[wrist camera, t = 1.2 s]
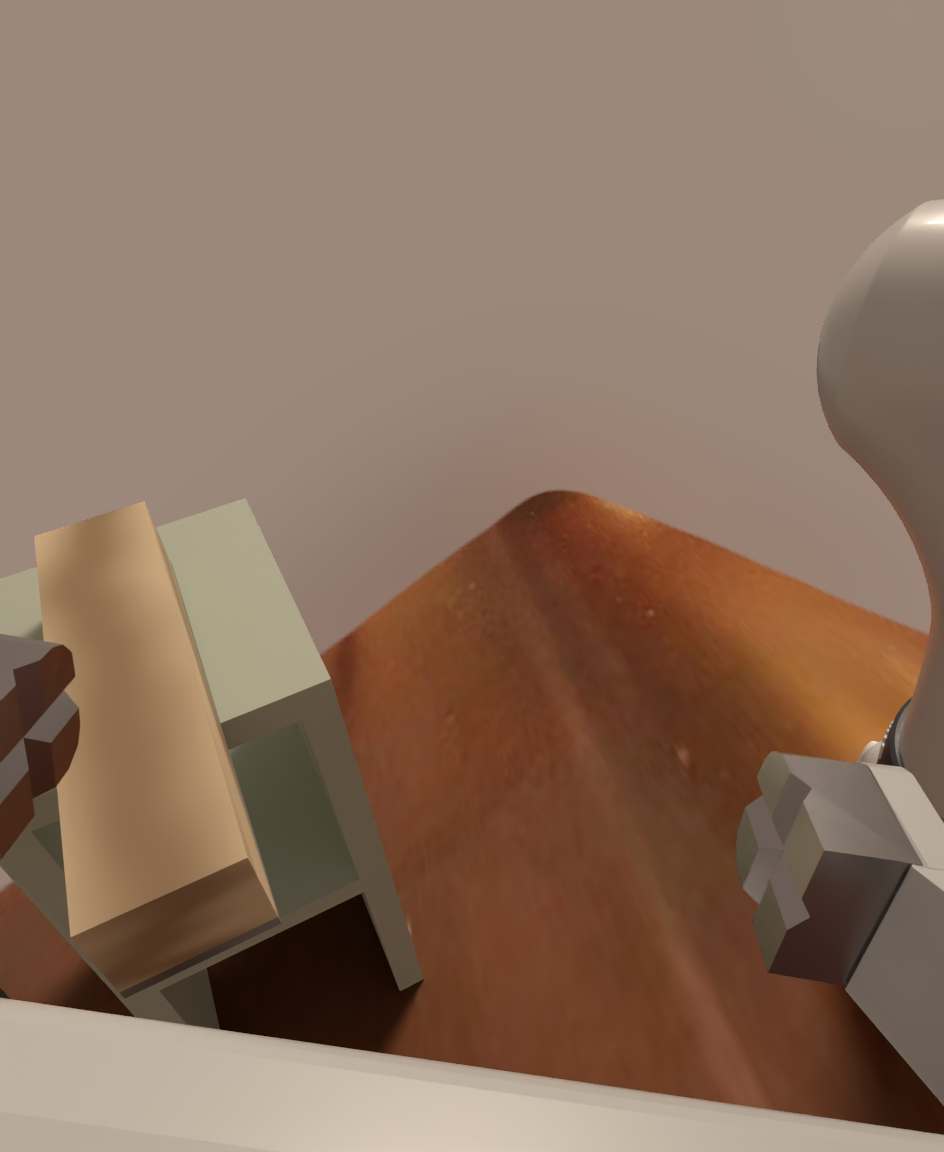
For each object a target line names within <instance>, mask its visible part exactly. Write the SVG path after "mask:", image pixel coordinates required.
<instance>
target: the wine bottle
mask: <svg viewBox="0 0 944 1152" xmlns="http://www.w3.org/2000/svg"><path fill="white" fill-rule="evenodd" d="M0 998H5V999H9V998H8V996H7V995H6V994H5V992H4V991H3V990H2V989H0Z"/></svg>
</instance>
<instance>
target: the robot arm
mask: <svg viewBox="0 0 944 1152" xmlns="http://www.w3.org/2000/svg"><path fill="white" fill-rule="evenodd" d="M817 383H818V391H819V396H820V401H821V405H822V409H823V413H824V415H825V418H826V421H827V423H828V426H829V428H830V430H831V432H832V434H833V436H834V438H835V440H836V442H837V443H838V444H839V446H840V447H841V448H842V449H844V450H845V451H846V452H847V453H848V454H849V455H850V456H851V457H852V458H853V459H854V460H855V461H856V462H857V463H858V464H859V465H860V466H861V467H862V468H863V469H864V470H865V471H866V473H867V474H868V475H869V476H870V477H871V478H872V479H873V480H874V482H875V483H876V484H877V485H878V486H879V488H880V489H881V490H882V492H883V493H884V495H885V496H886V497H887V499H888V500H889V501H890V503H891V504H892V506H893V507H894V509H895V511H896V512H897V514H898V515H899V517H900V519H901V520H902V522H903V524H904V526H905V528H906V530H907V532H908V534H909V536H910V538H911V540H912V542H913V544H914V546H915V549H916V551H917V554H918V556H919V559H920V561H921V564H922V567H923V571H924V574H925V577H926V581H927V584H928V589H929V594H930V601H931V627H930V633H929V638H928V642H927V647H926V651H925V655H924V659H923V663H922V667H921V670H920V674H919V678H918V681H917V684H916V687H915V690H914V693H913V697H912V698H910V699H909V700H908V701H907V702H906V703H905V704H904V705H903V706H902V708H901V709H900V711H899V712H898V713H897V715H896V717H895V719H894V721H892V723H891V725H890V726H889V728H888V729H887V731H886V734H885V736H884V738H883V740H882V741H880V742H875V741H872V742H870V743H869V744H867V745H866V746H865V748H864V749H863V751H862V753H861V755H860V757H859V758H858V760H857V762H856V763H854V762H847V761H840V760H832V759H825V758H818V757H811V756H804V755H797V754H790V753H783V752H776V751H771V753H770V754H769V755H768V756H767V757H766V759H765V760H764V761H763V764H762V766H761V769H760V771H759V774H758V776H757V779H758V782H759V785H760V788H761V791H762V793H763V795H762V796H761V797H759V798H758V799H757V800H755V801H754V802H752V803H751V804H749V805H748V806H746V807H745V810H744V813H743V816H742V819H741V822H740V825H739V828H738V835H737V845H736V859H737V868H738V873H739V877H740V880H741V884H742V888H743V889H744V890H745V891H746V892H747V893H748V894H749V895H750V896H751V897H752V898H753V899H754V900H755V901H756V902H757V903H758V904H759V906H758V908H757V911H756V913H755V916H754V918H753V920H752V922H753V925H754V928H755V932H756V935H757V938H758V942H759V945H760V948H761V951H762V955H763V958H764V961H765V965H766V968H767V971H768V973H772V974H778V975H783V976H789V977H795V978H801V979H806V980H812V981H818V982H824V983H829V984H835V985H841V986H846V989H845V991H846V992H847V993H848V994H849V995H850V996H851V998H852V999H853V1000H854V1001H855V1002H856V1004H857V1005H858V1006H859V1007H860V1008H861V1009H862V1011H863V1012H864V1013H865V1014H866V1015H867V1016H868V1018H869V1019H870V1020H871V1021H872V1022H873V1023H874V1025H875V1026H876V1027H877V1028H878V1029H879V1031H880V1032H881V1033H882V1034H883V1035H884V1036H885V1038H886V1039H887V1040H888V1041H889V1042H890V1043H891V1045H892V1046H893V1047H894V1048H895V1049H896V1050H897V1052H898V1053H899V1054H900V1055H901V1056H902V1058H903V1059H904V1060H905V1061H906V1062H907V1063H908V1065H909V1066H910V1067H911V1068H912V1069H913V1070H914V1072H915V1073H916V1074H917V1075H918V1076H919V1077H920V1079H921V1080H922V1081H923V1082H924V1083H925V1085H926V1086H927V1087H928V1088H929V1089H930V1090H931V1092H932V1093H933V1094H934V1095H935V1096H936V1097H937V1099H938V1100H939V1101H940V1102H941V1103H942V1104H943V1106H944V199H943V200H933V201H928V202H925V203H923V204H921V205H920V206H918V207H916V208H915V209H913V210H912V211H910V212H909V213H908V214H906V215H905V216H903V217H902V218H900V219H899V220H898V221H897V222H895V223H894V224H893V225H892V226H890V227H889V228H888V229H887V230H885V231H884V232H883V233H882V234H881V235H880V236H879V237H878V238H877V239H876V240H875V241H874V242H873V243H872V244H871V245H870V246H869V247H868V248H867V249H866V250H865V251H864V253H863V254H862V255H861V257H860V258H859V259H858V260H857V261H856V263H855V264H854V265H853V267H852V268H851V269H850V271H849V272H848V274H847V275H846V277H845V279H844V280H843V282H842V283H841V285H840V287H839V289H838V290H837V292H836V294H835V296H834V298H833V300H832V303H831V305H830V307H829V310H828V312H827V315H826V318H825V321H824V325H823V328H822V331H821V336H820V342H819V346H818V356H817ZM74 678H75V669H74V662H73V656H72V652H71V651H70V650H69V649H68V648H67V647H66V646H64V645H63V644H58V643H52V642H46V641H40V640H34V639H29V638H23V637H17V636H11V635H5V634H0V860H1V859H2V858H3V857H4V855H5V854H6V853H7V852H8V850H9V849H10V848H11V846H12V845H13V844H14V842H15V841H16V840H17V838H18V837H19V836H20V834H21V833H22V832H23V830H24V829H25V828H26V826H27V825H28V824H29V822H30V821H31V820H32V819H33V817H34V816H35V813H34V805H33V798H35V797H37V796H39V795H41V794H43V793H45V792H47V791H49V790H51V789H53V788H55V787H57V785H58V784H59V782H60V781H61V779H62V778H63V777H64V775H65V774H66V772H67V771H68V770H69V768H70V765H71V762H72V760H73V757H74V755H75V752H76V749H77V747H78V742H79V733H80V715H79V708H78V706H77V705H76V704H75V703H74V702H73V700H72V699H71V698H70V697H69V696H68V694H67V693H66V692H65V691H64V689H65V688H66V687H67V686H68V685H69V684H70V682H71V681H72V680H73V679H74ZM0 1152H944V1135H941V1134H934V1133H927V1132H920V1131H914V1130H907V1129H900V1128H893V1127H886V1126H879V1125H872V1124H865V1123H859V1122H852V1121H845V1120H838V1119H831V1118H824V1117H817V1116H810V1115H804V1114H797V1113H790V1112H783V1111H776V1110H769V1109H762V1108H755V1107H749V1106H742V1105H735V1104H728V1103H721V1102H714V1101H707V1100H700V1099H694V1098H687V1097H680V1096H673V1095H666V1094H659V1093H652V1092H645V1091H639V1090H632V1089H625V1088H618V1087H611V1086H604V1085H597V1084H590V1083H584V1082H577V1081H570V1080H563V1079H556V1078H549V1077H542V1076H535V1075H529V1074H522V1073H515V1072H508V1071H501V1070H494V1069H487V1068H480V1067H474V1066H467V1065H460V1064H453V1063H446V1062H439V1061H432V1060H425V1059H418V1058H412V1057H405V1056H398V1055H391V1054H384V1053H377V1052H370V1051H363V1050H356V1049H350V1048H343V1047H336V1046H329V1045H322V1044H315V1043H308V1042H301V1041H294V1040H288V1039H281V1038H274V1037H267V1036H260V1035H253V1034H246V1033H239V1032H232V1031H226V1030H219V1029H212V1028H205V1027H198V1026H191V1025H184V1024H177V1023H170V1022H164V1021H157V1020H150V1019H143V1018H136V1017H129V1016H122V1015H115V1014H108V1013H102V1012H95V1011H88V1010H81V1009H74V1008H67V1007H60V1006H53V1005H46V1004H40V1003H33V1002H26V1001H19V1000H12V999H5V998H0Z"/></svg>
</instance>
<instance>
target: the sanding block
mask: <svg viewBox="0 0 944 1152" xmlns="http://www.w3.org/2000/svg"><path fill="white" fill-rule="evenodd" d="M34 538H35V549H36V560H37V571H38V582H39V593H40V604H41V615H42V626H43V638H44V641H46V642H52V643H58V644H63V645H64V646H66V647H67V648H68V649H69V650H70V651H71V652H72V656H73V662H74V669H75V678H74V679H73V680H72V681H71V682H70V684H69V685H68V686H67V687H66V688H65V689H64V691H65V692H66V693H67V694H68V696H69V697H70V698H71V699H72V700H73V702H74V703H75V704H76V705H77V706H78V708H79V715H80V733H79V742H78V747H77V749H76V752H75V755H74V757H73V760H72V762H71V765H70V768H69V770H68V771H67V772H66V774H65V775H64V777H63V778H62V779H61V781H60V782H59V784H58V785H57V793H58V804H59V815H60V827H61V838H62V849H63V860H64V871H65V882H66V893H67V904H68V916H69V927H70V937H71V939H72V940H73V941H74V942H75V943H76V944H77V945H78V947H79V948H80V949H81V950H82V951H83V952H84V953H85V954H86V956H87V957H88V958H89V959H90V960H91V961H92V962H93V964H94V965H95V966H96V967H97V968H98V969H99V970H100V971H101V973H102V974H103V975H104V976H105V977H106V978H107V979H108V981H109V982H110V983H111V984H112V985H113V986H114V987H115V988H116V990H117V991H118V992H119V993H120V994H121V995H122V996H123V998H124V999H125V998H127V997H129V996H132V995H134V994H136V993H138V992H140V991H142V990H144V989H146V988H148V987H150V986H152V985H155V984H157V983H159V982H161V981H163V980H165V979H167V978H169V977H171V976H173V975H175V974H177V973H180V972H182V971H184V970H186V969H188V968H190V967H192V966H194V965H196V964H198V963H200V962H203V961H205V960H207V959H209V958H211V957H213V956H215V955H217V954H219V953H221V952H223V951H226V950H228V949H230V948H232V947H234V946H236V945H238V944H240V943H242V942H244V941H246V940H248V939H251V938H253V937H255V936H257V935H259V934H261V933H263V932H265V931H267V930H269V929H271V928H274V927H276V926H278V925H280V924H282V923H281V920H280V917H279V913H278V910H277V907H276V903H275V900H274V897H273V894H272V890H271V887H270V884H269V881H268V877H267V874H266V871H265V867H264V864H263V861H262V858H261V854H260V851H259V848H258V844H257V841H256V838H255V835H254V831H253V828H252V825H251V822H250V818H249V815H248V812H247V808H246V805H245V802H244V799H243V795H242V792H241V789H240V785H239V782H238V779H237V776H236V772H235V769H234V766H233V763H232V759H231V756H230V753H229V749H228V746H227V743H226V740H225V736H224V733H223V730H222V727H221V723H220V720H219V717H218V713H217V710H216V707H215V704H214V700H213V697H212V694H211V690H210V687H209V684H208V681H207V677H206V674H205V671H204V668H203V664H202V661H201V658H200V654H199V651H198V648H197V645H196V641H195V638H194V635H193V631H192V628H191V625H190V622H189V618H188V615H187V612H186V609H185V605H184V602H183V599H182V595H181V592H180V589H179V586H178V582H177V579H176V576H175V573H174V569H173V566H172V564H171V561H170V559H169V557H168V554H167V552H166V550H165V548H164V545H163V543H162V541H161V538H160V536H159V534H158V532H157V529H156V527H155V525H154V522H153V520H152V518H151V516H150V513H149V511H148V509H147V506H146V504H145V502H144V501H143V502H140V503H137V504H134V505H131V506H128V507H125V508H121V509H118V510H115V511H112V512H109V513H106V514H102V515H99V516H96V517H93V518H90V519H87V520H84V521H81V522H77V523H74V524H71V525H68V526H65V527H62V528H59V529H56V530H52V531H49V532H46V533H43V534H40V535H37V536H35V537H34Z"/></svg>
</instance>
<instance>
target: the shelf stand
mask: <svg viewBox="0 0 944 1152" xmlns="http://www.w3.org/2000/svg"><path fill="white" fill-rule="evenodd" d="M156 529H157V532H158V534H159V536H160V538H161V541H162V543H163V545H164V548H165V550H166V552H167V554H168V557H169V559H170V561H171V564H172V566H173V569H174V573H175V576H176V579H177V582H178V586H179V589H180V592H181V595H182V599H183V602H184V605H185V609H186V612H187V615H188V618H189V622H190V625H191V628H192V631H193V635H194V638H195V641H196V645H197V648H198V651H199V654H200V658H201V661H202V664H203V668H204V671H205V674H206V677H207V681H208V684H209V687H210V690H211V694H212V697H213V700H214V704H215V707H216V710H217V713H218V717H219V720H220V723H221V727H222V730H223V733H224V736H225V740H226V743H227V746H228V749H229V753H230V756H231V759H232V763H233V766H234V769H235V772H236V776H237V779H238V782H239V785H240V789H241V792H242V795H243V799H244V802H245V805H246V808H247V812H248V815H249V818H250V822H251V825H252V828H253V831H254V835H255V838H256V841H257V844H258V848H259V851H260V854H261V858H262V861H263V864H264V867H265V871H266V874H267V877H268V881H269V884H270V887H271V890H272V894H273V897H274V900H275V903H276V907H277V910H278V913H279V917H280V920H281V923H282V924H280V925H278V926H276V927H274V928H271V929H269V930H267V931H265V932H263V933H261V934H259V935H257V936H255V937H253V938H251V939H248V940H246V941H244V942H242V943H240V944H238V945H236V946H234V947H232V948H230V949H228V950H226V951H223V952H221V953H219V954H217V955H215V956H213V957H211V958H209V959H207V960H205V961H203V962H200V963H198V964H196V965H194V966H192V967H190V968H188V969H186V970H184V971H182V972H180V973H177V974H175V975H173V976H171V977H169V978H167V979H165V980H163V981H161V982H159V983H157V984H155V985H152V986H150V987H148V988H146V989H144V990H142V991H140V992H138V993H136V994H134V995H132V996H129V997H127V998H125V999H124V998H123V996H122V995H121V994H120V993H119V992H118V991H117V990H116V988H115V987H114V986H113V985H112V984H111V983H110V982H109V981H108V979H107V978H106V977H105V976H104V975H103V974H102V973H101V971H100V970H99V969H98V968H97V967H96V966H95V965H94V964H93V962H92V961H91V960H90V959H89V958H88V957H87V956H86V954H85V953H84V952H83V951H82V950H81V949H80V948H79V947H78V945H77V944H76V943H75V942H74V941H73V940H72V939H71V937H70V927H69V916H68V904H67V893H66V882H65V871H64V860H63V849H62V838H61V827H60V815H59V804H58V793H57V787H55V788H53V789H51V790H49V791H47V792H45V793H43V794H41V795H39V796H37V797H35V798H33V805H34V813H35V816H34V817H33V819H32V820H31V821H30V822H29V824H28V825H27V826H26V828H25V829H24V830H23V832H22V833H21V834H20V836H19V837H18V838H17V840H16V841H15V842H14V844H13V845H12V846H11V848H10V849H9V850H8V852H7V853H6V854H5V855H4V857H3V858H2V859H1V860H0V866H1V867H2V869H3V870H4V871H5V872H6V873H7V874H8V875H9V876H10V878H11V879H12V880H13V881H14V882H15V883H16V884H17V885H18V886H19V888H20V889H21V890H22V891H23V892H24V893H25V894H26V895H27V897H28V898H29V899H30V900H31V901H32V902H33V903H34V904H35V906H36V907H37V908H38V909H39V910H40V911H41V912H42V913H43V914H44V916H45V917H46V918H47V919H48V920H49V921H50V922H51V923H52V925H53V926H54V927H55V928H56V929H57V930H58V931H59V932H60V933H61V935H62V936H63V937H64V938H65V939H66V940H67V941H68V942H69V944H70V945H71V946H72V947H73V948H74V949H75V950H76V951H77V953H78V954H79V955H80V956H81V957H82V958H83V959H84V960H85V961H86V963H87V964H88V965H89V966H90V967H91V968H92V969H93V970H94V972H95V973H96V974H97V975H98V976H99V977H100V978H101V979H102V980H103V982H104V983H105V984H106V985H107V986H108V987H109V988H110V989H111V991H112V992H113V993H114V994H115V995H116V996H117V997H118V998H119V999H120V1001H121V1002H122V1003H123V1004H124V1005H125V1006H126V1007H127V1008H128V1010H129V1011H130V1012H131V1013H132V1014H133V1015H134V1016H135V1017H136V1018H143V1019H150V1020H157V1021H164V1022H170V1023H177V1024H184V1025H191V1026H198V1027H205V1028H212V1029H219V1030H220V1027H219V1022H218V1018H217V1013H216V1009H215V1004H214V1000H213V995H212V990H211V986H210V981H209V977H208V972H207V967H209V966H211V965H213V964H215V963H218V962H220V961H222V960H224V959H226V958H228V957H230V956H232V955H234V954H236V953H238V952H240V951H242V950H245V949H247V948H249V947H251V946H253V945H255V944H257V943H259V942H261V941H263V940H265V939H267V938H269V937H272V936H274V935H276V934H278V933H280V932H282V931H284V930H286V929H288V928H290V927H292V926H294V925H296V924H299V923H301V922H303V921H305V920H307V919H309V918H311V917H313V916H315V915H317V914H319V913H321V912H323V911H326V910H328V909H330V908H332V907H334V906H336V905H338V904H340V903H342V902H344V901H346V900H348V899H350V898H353V897H355V896H357V895H359V894H361V895H362V897H363V900H364V902H365V905H366V907H367V910H368V912H369V915H370V917H371V920H372V922H373V925H374V927H375V930H376V932H377V935H378V937H379V940H380V942H381V945H382V947H383V950H384V952H385V955H386V957H387V960H388V963H389V965H390V968H391V970H392V973H393V975H394V978H395V980H396V983H397V985H398V988H399V990H400V991H402V990H404V989H406V988H408V987H409V986H411V985H413V984H415V983H417V982H419V981H421V980H423V979H424V978H423V975H422V972H421V969H420V965H419V962H418V959H417V956H416V953H415V949H414V946H413V943H412V940H411V936H410V933H409V930H408V927H407V923H406V920H405V917H404V914H403V911H402V907H401V904H400V901H399V898H398V894H397V891H396V888H395V885H394V881H393V878H392V875H391V872H390V869H389V865H388V862H387V859H386V856H385V852H384V849H383V846H382V843H381V840H380V836H379V833H378V830H377V827H376V823H375V820H374V817H373V814H372V810H371V807H370V804H369V801H368V798H367V794H366V791H365V788H364V785H363V781H362V778H361V775H360V772H359V768H358V765H357V762H356V759H355V756H354V752H353V749H352V746H351V743H350V739H349V736H348V733H347V730H346V726H345V723H344V720H343V717H342V714H341V710H340V707H339V704H338V701H337V697H336V694H335V691H334V688H333V684H332V681H331V678H330V676H329V674H328V672H327V670H326V668H325V666H324V663H323V661H322V659H321V657H320V655H319V653H318V651H317V649H316V647H315V645H314V642H313V640H312V638H311V636H310V634H309V632H308V630H307V627H306V625H305V623H304V621H303V619H302V617H301V615H300V613H299V611H298V608H297V606H296V604H295V602H294V600H293V598H292V596H291V594H290V591H289V589H288V587H287V585H286V583H285V581H284V579H283V577H282V575H281V572H280V570H279V568H278V566H277V564H276V562H275V560H274V558H273V555H272V553H271V551H270V549H269V547H268V545H267V543H266V541H265V538H264V536H263V535H262V532H261V530H260V528H259V526H258V524H257V522H256V520H255V517H254V515H253V513H252V511H251V509H250V507H249V505H248V502H247V500H246V499H241V500H238V501H235V502H232V503H229V504H226V505H223V506H220V507H217V508H214V509H211V510H208V511H205V512H202V513H199V514H196V515H193V516H190V517H187V518H184V519H181V520H177V521H174V522H172V523H169V524H165V525H162V526H159V527H156ZM0 634H5V635H11V636H17V637H23V638H29V639H34V640H40V641H44V638H43V626H42V615H41V604H40V593H39V582H38V571H37V567H35V568H32V569H29V570H26V571H23V572H20V573H17V574H14V575H11V576H7V577H5V578H1V579H0Z"/></svg>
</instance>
